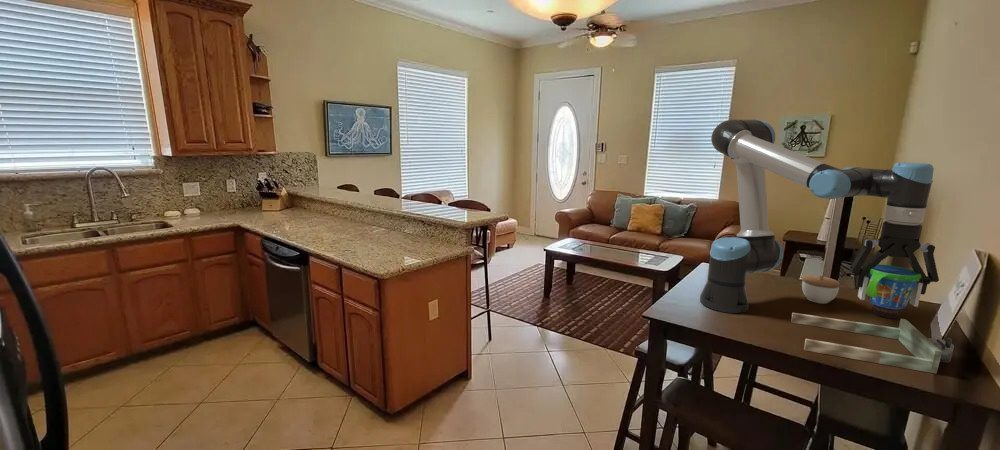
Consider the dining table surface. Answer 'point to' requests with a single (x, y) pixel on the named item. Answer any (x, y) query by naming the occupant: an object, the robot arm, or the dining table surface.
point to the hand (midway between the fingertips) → (886, 301)
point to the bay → (906, 334)
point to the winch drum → (944, 348)
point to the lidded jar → (819, 288)
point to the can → (885, 312)
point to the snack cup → (891, 286)
